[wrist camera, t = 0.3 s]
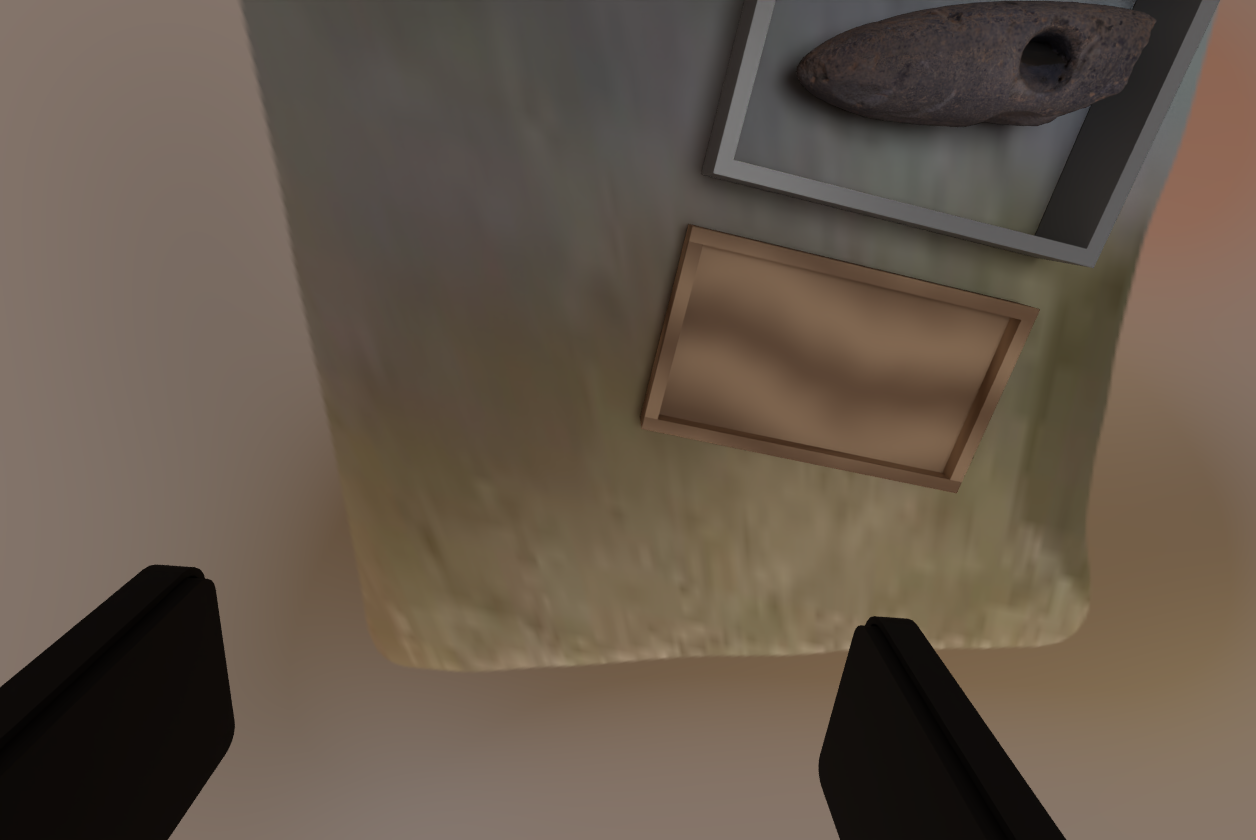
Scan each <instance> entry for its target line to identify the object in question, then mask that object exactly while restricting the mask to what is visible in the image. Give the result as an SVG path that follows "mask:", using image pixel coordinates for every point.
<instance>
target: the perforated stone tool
mask: <svg viewBox="0 0 1256 840" xmlns="http://www.w3.org/2000/svg"><path fill="white" fill-rule="evenodd" d="M1155 23H1156V20H1155V18H1153V17H1151V16H1150V15H1148V14H1146V13H1144V12H1140V11H1135V10H1131V9H1125V8H1119V7H1114V6H1107V5H1097V4H1087V3H1078V2H1055V1H999V2H979V3H969V4H959V5H950V6H943V7H938V8H932V9H926V10H920V11H915V12H911V13H907V14H902V15H899V16H894V17H891V18H888V19H884V20H881V21H878V22H873V23H869V24H865V25H862V26H859V27H856V28H853V29H851V30H848V31H846V32H844V33H841V34H839V35H837V36H835V37H833V38H831V39H829V40H827V41H825V42H824V43H822V44H821V45H819V46H818V47H816V48H815V49H814V50H812V51H811V52H810V53H808V54H807V55H806V56H805V57H803V59H802V60H801V62H800V63H799V65H798V66H797V71H796V72H797V77H798V79H799V81H800V82H801V84H802V85H803V86H804V87H805V88H806V89H807V90H808V91H809V92H810V93H812V94H813V95H815V96H816V97H818V98H820V99H821V100H824V101H825V102H827V103H830V104H832V105H834V106H837V107H839V108H841V109H844V110H846V111H849V112H852V113H855V114H857V115H861V116H864V117H869V118H874V119H880V120H886V121H894V122H901V123H910V124H919V125H932V126H950V127H966V126H971V125H975V124H978V123H980V122H991V123H995V124H1002V125H1009V124H1010V125H1017V126H1039V125H1042V124H1045V123H1049V122H1051V121H1053V120H1054V119H1056V118H1057V117H1058V116H1061V115H1065V114H1066V113H1070V112H1073V111H1076V110H1079V109H1081V108H1085V107H1088V106H1090V105H1091V104H1093V103H1095V102H1096V101H1099V100H1102V99H1104V98H1107V97H1109V96H1113V95H1116V94H1118V93H1120V92H1121V91H1122V90H1123V89H1124V87H1125V85H1126V84H1127V83H1128V79H1129V76H1130V74H1131V72H1132V68H1133V66H1134V64H1135V62H1137V60H1138V58H1139V56H1140V54H1141V51H1142V49H1143V48H1144V47H1145V46H1146V45H1147V44H1148V42H1149V41H1148V40H1149V38H1150V34H1151V33H1150V32H1151V30H1152V28H1153V27H1154V24H1155Z"/></svg>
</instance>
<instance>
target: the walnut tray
mask: <svg viewBox="0 0 1256 840" xmlns="http://www.w3.org/2000/svg"><path fill="white" fill-rule="evenodd" d="M1039 311H1040V309H1037V308H1034V307H1030V306H1027V305H1024V304H1020V303H1016V302H1012V301H1008V300H1004V299H1000V298H995V297H991V296H987V295H983V294H979V293H975V292H970V291H966V290H962V289H958V288H954V287H949V286H945V285H941V284H937V283H933V282H929V281H924V280H920V279H916V278H912V277H908V276H904V275H899V274H895V273H891V272H887V271H883V270H879V269H874V268H870V267H866V266H862V265H858V264H854V263H849V262H845V261H841V260H837V259H833V258H829V257H824V256H820V255H816V254H812V253H808V252H803V251H799V250H795V249H791V248H787V247H783V246H778V245H774V244H770V243H766V242H762V241H758V240H753V239H749V238H745V237H741V236H737V235H733V234H728V233H724V232H720V231H716V230H712V229H708V228H703V227H699V226H695V225H691V224H688V228H687V232H686V236H685V240H684V244H683V248H682V252H681V256H680V260H679V264H678V268H677V272H676V276H675V280H674V284H673V288H672V292H671V296H670V300H669V304H668V308H667V312H666V316H665V320H664V324H663V328H662V332H661V336H660V340H659V344H658V348H657V352H656V356H655V360H654V364H653V368H652V372H651V376H650V380H649V384H648V388H647V392H646V396H645V400H644V404H643V408H642V412H641V416H640V420H641V428H642V429H645V430H649V431H654V432H659V433H664V434H669V435H674V436H679V437H684V438H689V439H693V440H698V441H703V442H708V443H713V444H718V445H723V446H728V447H733V448H738V449H742V450H747V451H752V452H757V453H762V454H767V455H772V456H777V457H782V458H787V459H791V460H796V461H801V462H806V463H811V464H816V465H821V466H826V467H831V468H836V469H840V470H845V471H850V472H855V473H860V474H865V475H870V476H875V477H880V478H885V479H889V480H894V481H899V482H904V483H909V484H914V485H919V486H924V487H929V488H934V489H938V490H943V491H948V492H953V493H957V492H958V489H959V487H960V485H961V483H962V481H963V478H964V476H965V474H966V472H967V470H968V467H969V465H970V463H971V461H972V459H973V456H974V454H975V452H976V450H977V448H978V445H979V443H980V441H981V439H982V437H983V434H984V432H985V430H986V428H987V426H988V423H989V421H990V419H991V417H992V415H993V412H994V410H995V408H996V406H997V404H998V401H999V399H1000V397H1001V395H1002V393H1003V390H1004V388H1005V386H1006V384H1007V381H1008V379H1009V377H1010V375H1011V373H1012V370H1013V368H1014V366H1015V364H1016V362H1017V359H1018V357H1019V355H1020V353H1021V351H1022V348H1023V346H1024V344H1025V342H1026V340H1027V337H1028V335H1029V333H1030V331H1031V329H1032V326H1033V324H1034V322H1035V320H1036V318H1037V315H1038V313H1039Z"/></svg>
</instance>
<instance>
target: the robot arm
mask: <svg viewBox="0 0 1256 840" xmlns="http://www.w3.org/2000/svg"><path fill="white" fill-rule="evenodd" d="M234 729H235V722H234V714H233V708H232V700H231V694H230V686H229V680H228V673H227V665H226V658H225V651H224V644H223V638H222V630H221V623H220V616H219V609H218V602H217V595H216V589H215V585H214V583H213V582H212V580H209V579H205V577H204V574H203V572H202V571H201V570H200V569H198V568H195V567H181V566H169V565H151V566H148V567H147V568H145V569H143V570H142V571H141V572H140V573H139V574H137V575H136V576H135V577H134V578H132V579H131V580H130V581H129V582H127V583H126V584H125V585H124V586H123V587H121V588H120V589H119V590H118V591H116V592H115V593H114V594H113V595H112V596H110V597H109V598H108V599H107V600H106V601H105V602H103V603H102V604H101V605H99V606H98V607H97V608H96V609H95V610H93V611H92V612H91V613H90V614H89V615H87V616H86V617H85V618H84V619H83V620H81V621H80V622H79V623H78V624H76V625H75V626H74V627H73V628H72V629H70V630H69V631H68V632H67V633H66V634H64V635H63V636H62V637H61V638H60V639H58V640H57V641H56V642H55V643H53V644H52V645H51V646H50V647H49V648H47V649H46V650H45V651H44V652H43V653H41V654H40V655H39V656H38V657H36V658H35V659H34V660H33V661H32V662H30V663H29V664H28V665H27V666H26V667H25V668H23V669H22V670H21V671H19V672H18V673H17V674H16V675H15V676H13V677H12V678H11V679H10V680H9V681H7V682H6V683H5V684H4V685H2V686H1V687H0V840H168V838H169V837H170V835H171V834H172V833H173V831H174V830H175V828H176V827H177V825H178V824H179V822H180V821H181V819H182V818H183V816H184V815H185V813H186V812H187V810H188V809H189V807H190V806H191V804H192V803H193V801H194V800H195V799H196V797H197V796H198V794H199V793H200V791H201V790H202V788H203V787H204V785H205V784H206V782H207V781H208V779H209V778H210V776H211V775H212V773H213V772H214V770H215V769H216V767H217V766H218V764H219V763H220V762H221V760H222V759H223V757H224V756H225V754H226V752H227V751H228V749H229V747H230V744H231V742H232V739H233V735H234ZM819 778H820V783H821V786H822V789H823V792H824V795H825V798H826V801H827V804H828V806H829V809H830V812H831V815H832V818H833V821H834V824H835V826H836V829H837V832H838V835H839V838H840V840H1066V839H1065V837H1064V836H1063V834H1062V833H1061V832H1060V830H1059V829H1058V827H1057V826H1056V825H1055V823H1054V821H1053V820H1052V819H1051V817H1050V816H1049V814H1048V813H1047V811H1046V810H1045V809H1044V807H1043V806H1042V804H1041V803H1040V801H1039V800H1038V798H1037V797H1036V795H1035V794H1034V793H1033V791H1032V790H1031V788H1030V787H1029V785H1028V784H1027V783H1026V781H1025V780H1024V778H1023V777H1022V776H1021V774H1020V772H1019V771H1018V770H1017V768H1016V767H1015V765H1014V764H1013V762H1012V761H1011V760H1010V758H1009V757H1008V755H1007V754H1006V752H1005V751H1004V749H1003V748H1002V747H1001V745H1000V744H999V742H998V741H997V739H996V738H995V736H994V735H993V734H992V732H991V731H990V729H989V728H988V727H987V725H986V724H985V722H984V721H983V719H982V718H981V716H980V715H979V714H978V712H977V711H976V709H975V708H974V706H973V705H972V703H971V702H970V701H969V699H968V698H967V696H966V695H965V693H964V692H963V690H962V689H961V688H960V686H959V685H958V683H957V682H956V680H955V679H954V677H953V676H952V675H951V673H950V672H949V670H948V669H947V668H946V666H945V665H944V663H943V662H942V660H941V659H940V657H939V656H938V654H937V653H936V652H935V650H934V649H933V647H932V646H931V644H930V643H929V642H928V640H927V639H926V637H925V636H924V634H923V633H922V631H921V630H920V629H919V627H918V626H917V624H916V623H915V622H914V621H913V620H910V619H904V618H890V617H876V616H874V617H870V618H869V620H868V621H867V622H866V625H865V626H863V625H860V626H858V627H857V628H856V629H855V632H854V635H853V638H852V642H851V645H850V649H849V653H848V657H847V660H846V663H845V667H844V671H843V674H842V678H841V681H840V685H839V689H838V693H837V696H836V699H835V703H834V707H833V710H832V714H831V717H830V721H829V725H828V729H827V732H826V736H825V739H824V743H823V746H822V750H821V753H820V758H819Z"/></svg>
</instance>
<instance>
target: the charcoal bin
mask: <svg viewBox="0 0 1256 840" xmlns="http://www.w3.org/2000/svg"><path fill="white" fill-rule="evenodd" d="M775 1H776V0H744V4H743V8H742V12H741V16H740V20H739V24H738V28H737V32H736V36H735V40H734V44H733V48H732V52H731V56H730V60H729V64H728V68H727V72H726V76H725V80H724V84H723V88H722V92H721V96H720V100H719V104H718V108H717V112H716V116H715V120H714V124H713V128H712V132H711V136H710V140H709V144H708V148H707V152H706V156H705V160H704V164H703V168H702V172H701V174H702V175H706V176H710V177H714V178H718V179H722V180H726V181H730V182H734V183H738V184H742V185H746V186H750V187H754V188H758V189H762V190H766V191H770V192H774V193H778V194H782V195H786V196H790V197H794V198H798V199H802V200H806V201H810V202H815V203H819V204H823V205H827V206H831V207H835V208H839V209H843V210H847V211H851V212H855V213H859V214H863V215H867V216H871V217H875V218H879V219H883V220H887V221H891V222H895V223H899V224H903V225H907V226H911V227H915V228H919V229H923V230H927V231H931V232H935V233H939V234H943V235H947V236H951V237H955V238H959V239H963V240H967V241H972V242H976V243H980V244H984V245H988V246H992V247H996V248H1000V249H1004V250H1008V251H1012V252H1016V253H1020V254H1024V255H1028V256H1032V257H1036V258H1040V259H1046V260H1052V261H1057V262H1063V263H1069V264H1074V265H1080V266H1086V267H1091V268H1094V266H1095V264H1096V262H1097V260H1098V258H1099V255H1100V253H1101V251H1102V249H1103V247H1104V245H1105V243H1106V241H1107V238H1108V236H1109V234H1110V232H1111V230H1112V228H1113V226H1114V224H1115V221H1116V219H1117V217H1118V215H1119V213H1120V211H1121V209H1122V207H1123V205H1124V202H1125V200H1126V198H1127V196H1128V194H1129V192H1130V190H1131V188H1132V185H1133V183H1134V181H1135V179H1136V177H1137V175H1138V173H1139V171H1140V169H1141V166H1142V164H1143V162H1144V160H1145V158H1146V156H1147V154H1148V152H1149V149H1150V147H1151V145H1152V143H1153V141H1154V139H1155V137H1156V135H1157V133H1158V130H1159V128H1160V126H1161V124H1162V122H1163V120H1164V118H1165V116H1166V113H1167V111H1168V109H1169V107H1170V105H1171V103H1172V101H1173V99H1174V97H1175V94H1176V92H1177V90H1178V88H1179V86H1180V84H1181V82H1182V80H1183V77H1184V75H1185V73H1186V71H1187V69H1188V67H1189V65H1190V63H1191V61H1192V58H1193V56H1194V54H1195V52H1196V50H1197V48H1198V46H1199V44H1200V41H1201V39H1202V37H1203V35H1204V33H1205V31H1206V29H1207V27H1208V25H1209V22H1210V20H1211V18H1212V16H1213V14H1214V12H1215V10H1216V8H1217V5H1218V3H1219V1H1220V0H1137V1H1136V4H1135V6H1134V8H1133V10H1135V11H1140V12H1144V13H1146V14H1148V15H1150V16H1151V17H1153V18H1155V20H1156V23H1155V24H1154V27H1153V28H1152V30H1151V32H1150V33H1151V34H1150V38H1149V40H1148V41H1149V42H1148V44H1147V45H1146V46H1145V47H1144V48H1143V49H1142V51H1141V54H1140V56H1139V58H1138V60H1137V62H1135V64H1134V66H1133V68H1132V72H1131V74H1130V76H1129V79H1128V83H1127V84H1126V85H1125V87H1124V89H1123V90H1122V91H1121V92H1120V93H1118V94H1116V95H1113V96H1109V97H1107V98H1104V99H1102V100H1099V101H1096V102H1095V103H1093V104H1092V105H1091V107H1090V110H1089V112H1088V114H1087V117H1086V119H1085V121H1084V124H1083V126H1082V128H1081V131H1080V133H1079V135H1078V137H1077V140H1076V142H1075V144H1074V147H1073V149H1072V151H1071V154H1070V156H1069V158H1068V161H1067V163H1066V165H1065V167H1064V170H1063V172H1062V174H1061V177H1060V179H1059V181H1058V184H1057V186H1056V188H1055V191H1054V193H1053V195H1052V197H1051V200H1050V202H1049V204H1048V207H1047V209H1046V211H1045V214H1044V216H1043V218H1042V221H1041V223H1040V225H1039V227H1038V230H1037V232H1036V234H1035V236H1034V235H1030V234H1026V233H1022V232H1018V231H1014V230H1010V229H1006V228H1002V227H998V226H994V225H990V224H986V223H982V222H978V221H974V220H970V219H966V218H962V217H958V216H954V215H950V214H946V213H942V212H938V211H934V210H931V209H927V208H923V207H919V206H915V205H911V204H907V203H903V202H899V201H895V200H891V199H887V198H883V197H879V196H875V195H871V194H867V193H863V192H859V191H855V190H851V189H847V188H843V187H839V186H835V185H831V184H827V183H823V182H819V181H816V180H812V179H808V178H804V177H800V176H796V175H792V174H788V173H784V172H780V171H776V170H772V169H768V168H764V167H760V166H756V165H752V164H748V163H744V162H740V161H736V160H734V156H735V153H736V149H737V145H738V141H739V137H740V134H741V130H742V126H743V122H744V119H745V115H746V111H747V107H748V103H749V100H750V96H751V92H752V88H753V85H754V81H755V77H756V73H757V69H758V66H759V62H760V58H761V54H762V51H763V47H764V43H765V39H766V35H767V32H768V28H769V24H770V20H771V17H772V13H773V9H774V5H775Z"/></svg>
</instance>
